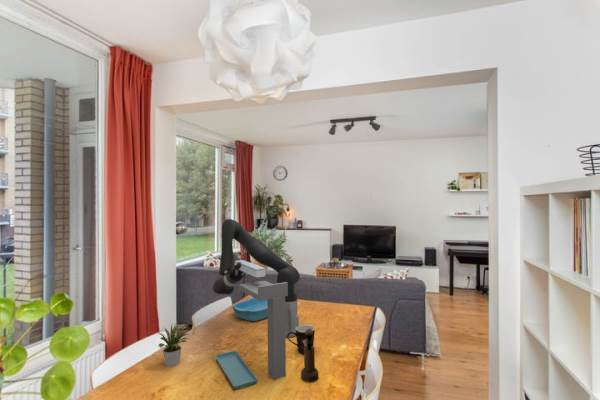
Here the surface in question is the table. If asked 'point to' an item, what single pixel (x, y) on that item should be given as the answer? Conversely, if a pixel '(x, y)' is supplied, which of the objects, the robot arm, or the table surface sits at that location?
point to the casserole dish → (251, 309)
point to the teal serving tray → (236, 369)
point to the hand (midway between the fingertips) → (245, 263)
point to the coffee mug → (302, 337)
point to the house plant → (172, 346)
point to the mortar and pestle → (309, 360)
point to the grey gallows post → (272, 322)
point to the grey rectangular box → (251, 268)
